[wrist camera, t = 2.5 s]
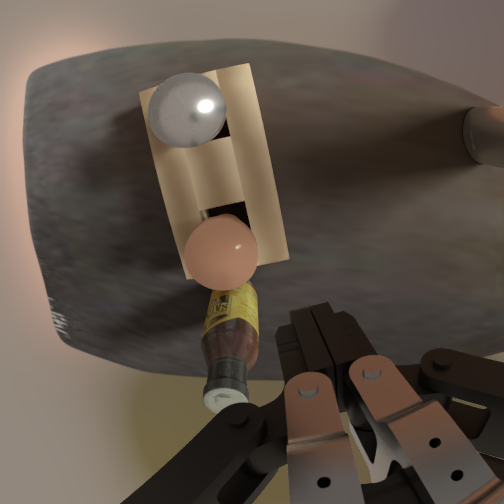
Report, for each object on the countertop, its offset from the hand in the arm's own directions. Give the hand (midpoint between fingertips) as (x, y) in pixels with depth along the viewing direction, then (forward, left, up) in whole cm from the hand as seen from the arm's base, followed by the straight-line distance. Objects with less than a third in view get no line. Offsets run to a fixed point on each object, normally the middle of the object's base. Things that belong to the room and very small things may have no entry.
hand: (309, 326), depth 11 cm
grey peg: (+5, -11, -21) cm, 24 cm away
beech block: (+5, -5, -28) cm, 29 cm away
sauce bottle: (+7, +12, -29) cm, 32 cm away
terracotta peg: (+5, +1, -21) cm, 22 cm away
